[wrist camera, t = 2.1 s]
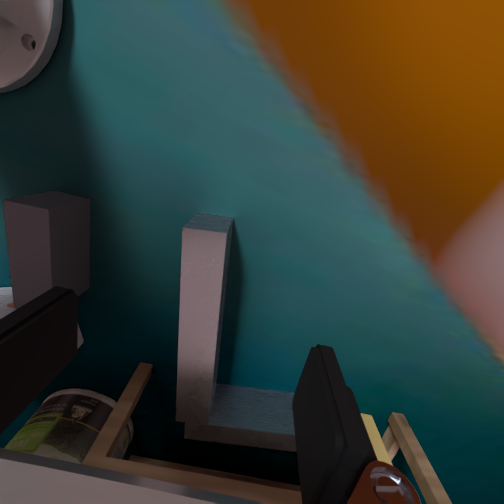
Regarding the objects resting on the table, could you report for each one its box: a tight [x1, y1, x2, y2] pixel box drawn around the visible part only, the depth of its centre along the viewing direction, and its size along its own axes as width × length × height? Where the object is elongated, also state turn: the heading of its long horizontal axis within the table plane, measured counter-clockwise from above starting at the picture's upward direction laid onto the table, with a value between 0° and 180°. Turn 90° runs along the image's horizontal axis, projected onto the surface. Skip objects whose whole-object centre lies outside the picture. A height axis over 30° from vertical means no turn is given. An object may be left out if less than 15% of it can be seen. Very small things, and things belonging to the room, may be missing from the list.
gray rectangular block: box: [3, 191, 90, 309], centre depth 20 cm, size 8×3×4 cm, turn 167°
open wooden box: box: [82, 362, 452, 504], centre depth 25 cm, size 15×27×10 cm, turn 77°
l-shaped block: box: [176, 213, 297, 452], centre depth 22 cm, size 19×12×4 cm, turn 173°
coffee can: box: [4, 388, 134, 464], centre depth 23 cm, size 10×10×14 cm
